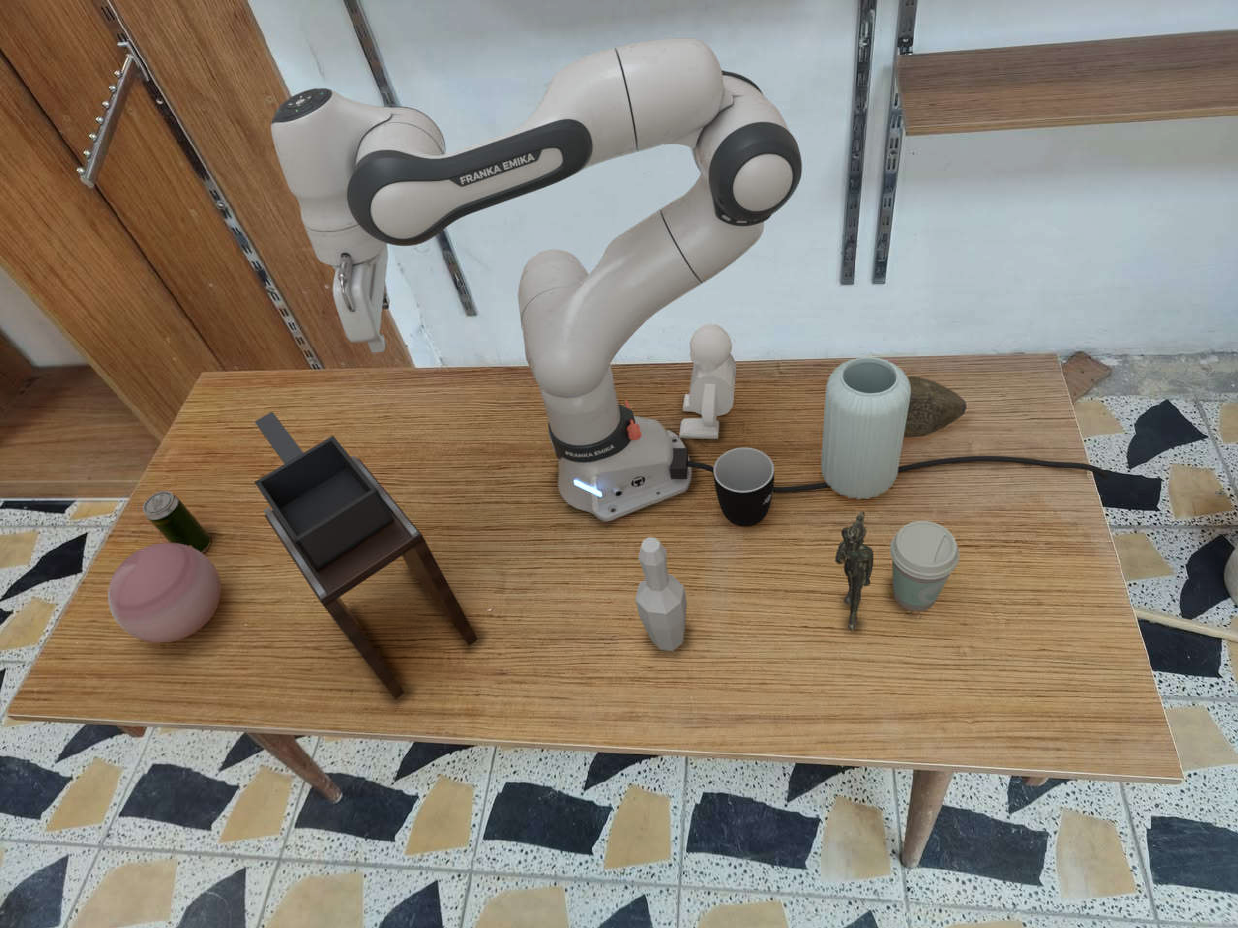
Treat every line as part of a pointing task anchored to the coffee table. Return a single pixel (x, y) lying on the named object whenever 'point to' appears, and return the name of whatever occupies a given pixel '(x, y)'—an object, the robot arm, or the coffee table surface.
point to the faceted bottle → (660, 598)
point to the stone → (931, 407)
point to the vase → (864, 426)
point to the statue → (855, 564)
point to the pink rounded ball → (164, 592)
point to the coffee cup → (922, 563)
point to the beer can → (176, 521)
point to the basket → (320, 496)
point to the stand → (367, 562)
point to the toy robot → (709, 382)
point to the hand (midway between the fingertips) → (381, 327)
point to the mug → (744, 485)
